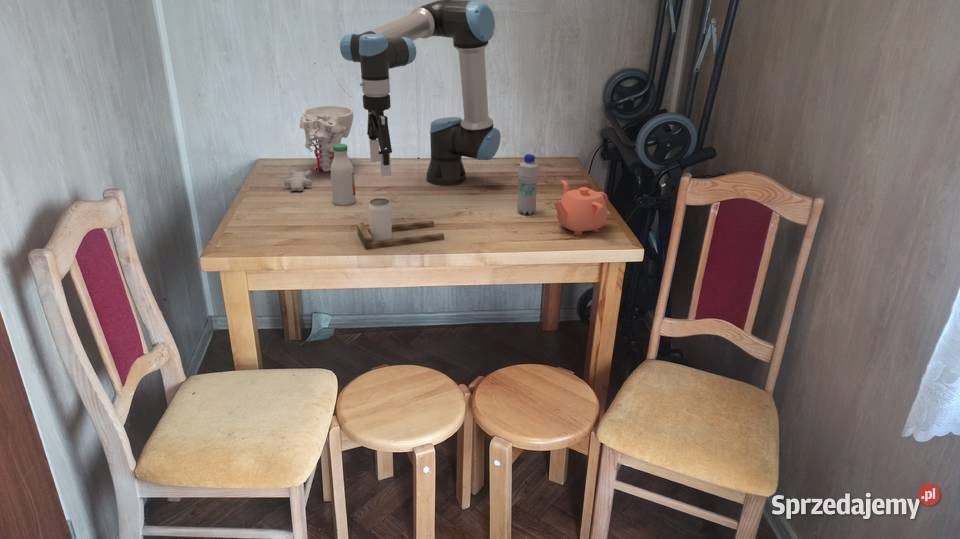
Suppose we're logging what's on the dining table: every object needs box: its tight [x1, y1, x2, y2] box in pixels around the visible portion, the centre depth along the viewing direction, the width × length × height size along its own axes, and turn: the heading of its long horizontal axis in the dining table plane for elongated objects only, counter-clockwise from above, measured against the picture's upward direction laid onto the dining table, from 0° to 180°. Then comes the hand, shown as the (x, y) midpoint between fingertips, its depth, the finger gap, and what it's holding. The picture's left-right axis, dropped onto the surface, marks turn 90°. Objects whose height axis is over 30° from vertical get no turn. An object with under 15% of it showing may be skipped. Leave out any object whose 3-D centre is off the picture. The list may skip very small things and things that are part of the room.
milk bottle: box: [330, 143, 356, 206], centre depth 217 cm, size 8×8×20 cm
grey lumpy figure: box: [283, 169, 313, 192], centre depth 234 cm, size 10×5×15 cm
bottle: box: [516, 153, 540, 216], centre depth 211 cm, size 7×7×20 cm
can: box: [368, 197, 393, 242], centre depth 191 cm, size 6×6×12 cm
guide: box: [356, 220, 445, 250], centre depth 194 cm, size 24×12×4 cm, turn 111°
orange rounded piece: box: [553, 179, 608, 237], centre depth 202 cm, size 16×17×14 cm
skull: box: [299, 105, 354, 174], centre depth 245 cm, size 25×19×23 cm
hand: (380, 168), depth 186 cm, fingers open, 13 cm apart
